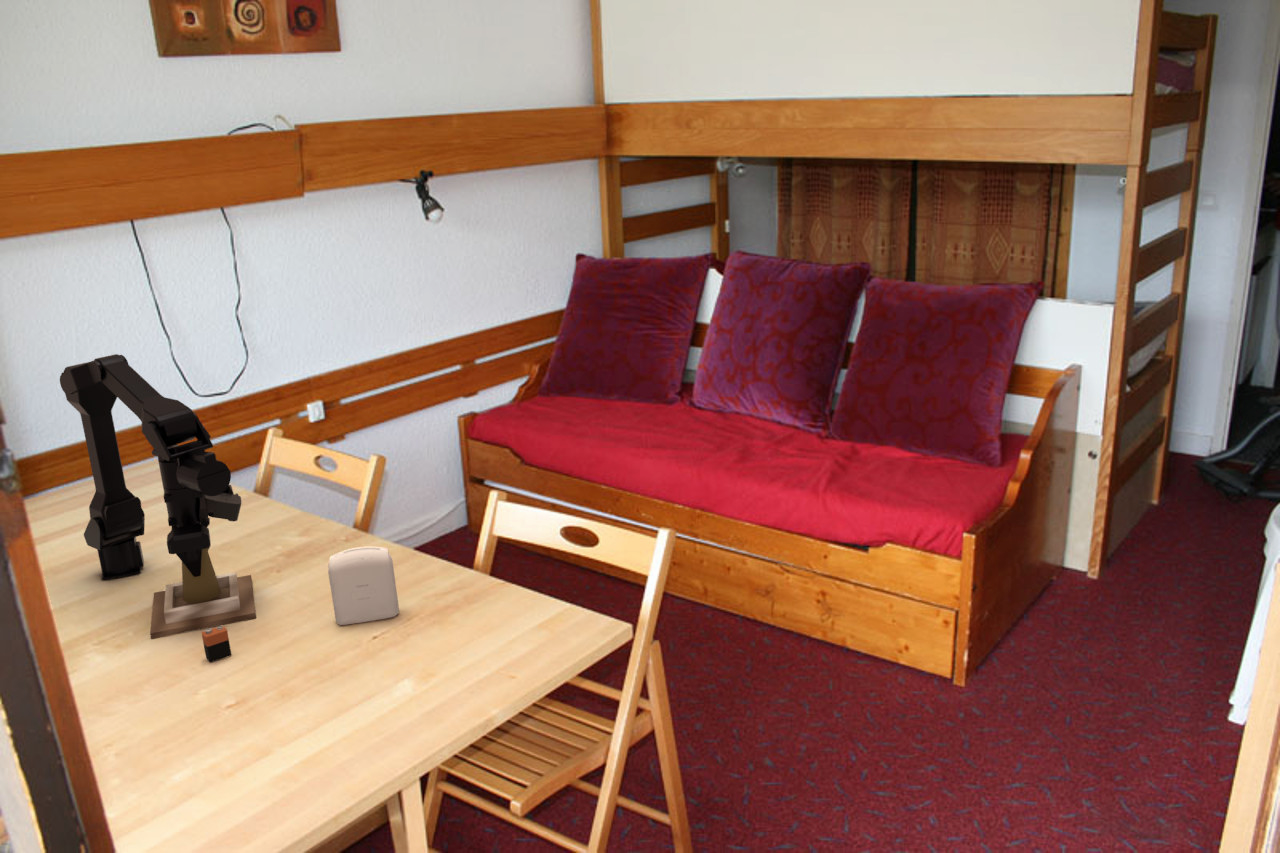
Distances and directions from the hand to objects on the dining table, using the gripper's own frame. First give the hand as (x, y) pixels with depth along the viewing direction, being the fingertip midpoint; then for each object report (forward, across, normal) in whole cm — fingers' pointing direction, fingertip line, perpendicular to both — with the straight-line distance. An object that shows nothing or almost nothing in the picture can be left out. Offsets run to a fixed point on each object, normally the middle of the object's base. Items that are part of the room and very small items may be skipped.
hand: (197, 570), depth 177 cm
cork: (+5, 0, 0) cm, 5 cm away
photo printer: (+7, -16, -25) cm, 31 cm away
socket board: (+7, 0, 0) cm, 7 cm away
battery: (+7, -19, -2) cm, 20 cm away
